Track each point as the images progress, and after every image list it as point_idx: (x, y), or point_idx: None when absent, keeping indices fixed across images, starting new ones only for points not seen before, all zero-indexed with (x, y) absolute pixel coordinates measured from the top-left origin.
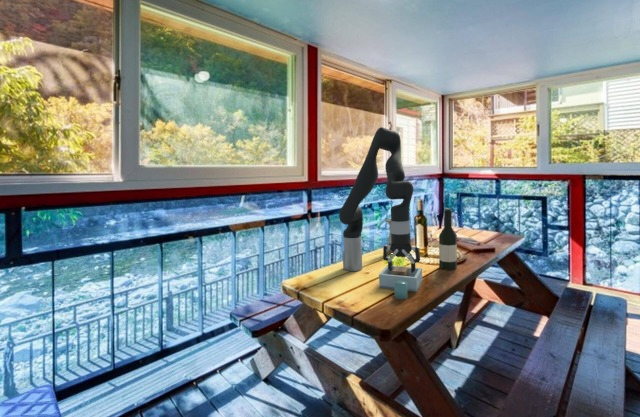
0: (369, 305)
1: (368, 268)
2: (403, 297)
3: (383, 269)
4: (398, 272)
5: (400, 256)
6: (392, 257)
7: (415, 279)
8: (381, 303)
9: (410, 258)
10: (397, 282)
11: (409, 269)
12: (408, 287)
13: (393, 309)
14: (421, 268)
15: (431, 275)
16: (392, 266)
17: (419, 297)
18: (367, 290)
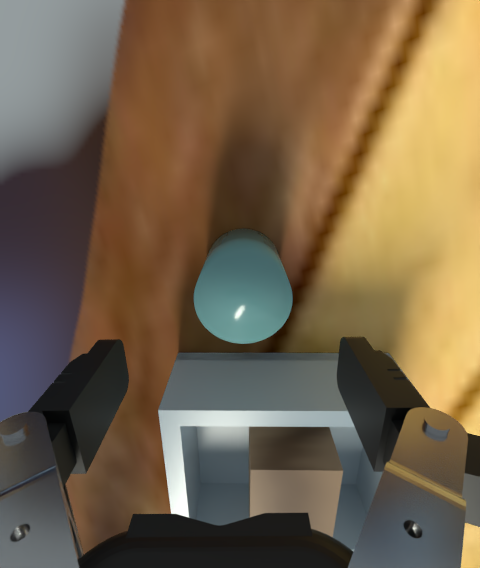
0: (419, 51)
1: (473, 556)
2: (221, 237)
3: None
4: (297, 463)
5: (226, 530)
6: (402, 476)
7: (168, 403)
8: (341, 120)
9: (9, 492)
10: (269, 297)
11: None
12: (221, 365)
13: (244, 41)
14: None
15: None
16: (347, 408)
17: (145, 288)
18: (455, 297)
